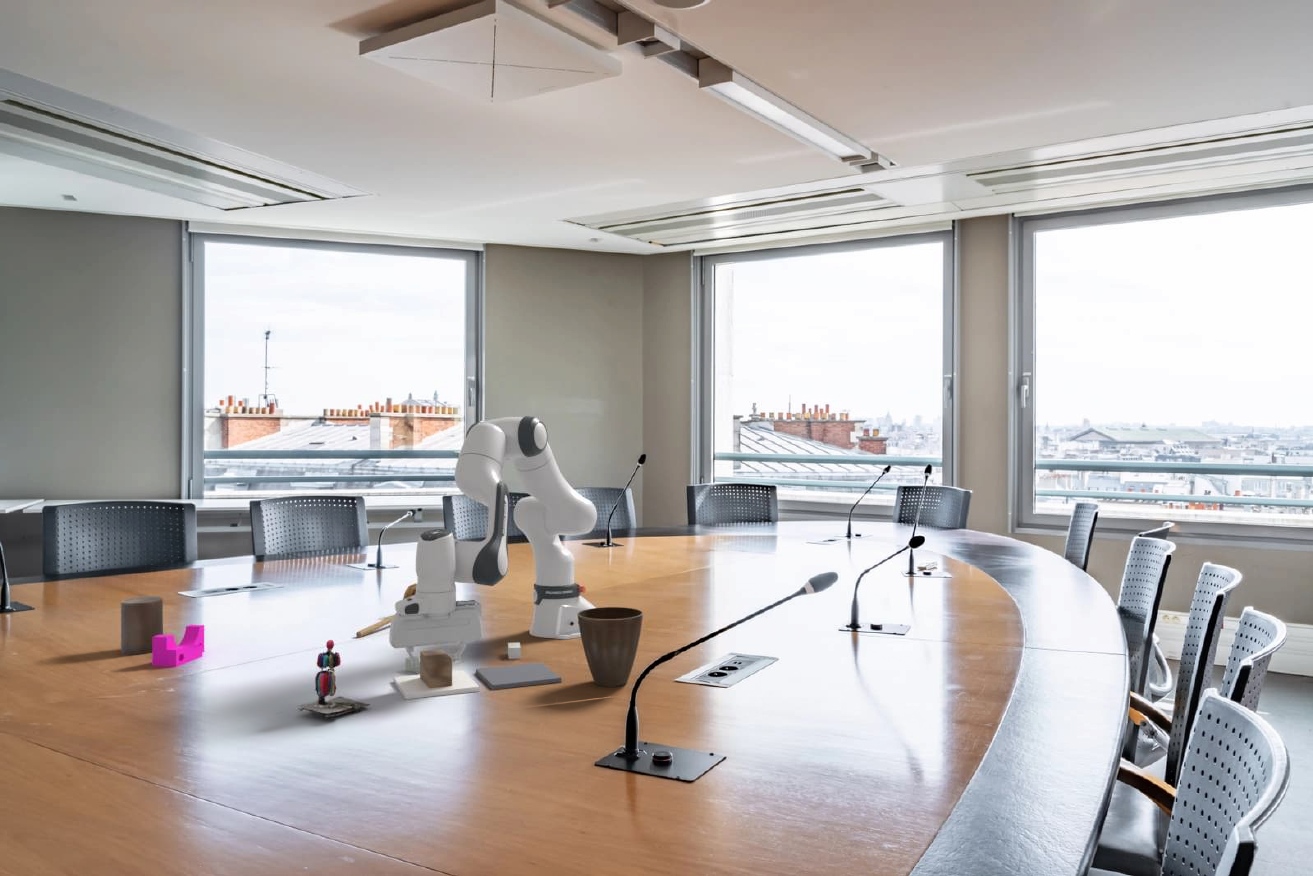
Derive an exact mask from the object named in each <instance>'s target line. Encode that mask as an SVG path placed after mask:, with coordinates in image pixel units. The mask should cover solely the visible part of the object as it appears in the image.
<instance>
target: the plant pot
mask: <svg viewBox="0 0 1313 876" xmlns="http://www.w3.org/2000/svg"><path fill="white" fill-rule="evenodd" d="M577 615H578V622H579V628H580V634H581V637H580V639H581V642H582V646H583V651H584V654H585V658H586V663H587V664H588V668H589V671H590V673H591V676H592V679H593V682H594V684H595V685H597V686H600V687H607V688H608V687H609V688H610V687H613V688H614V687H620V686H625V685H626V684H627V683H628V680H629V678H630V675H631V673H632V670H633V669H632V668H633V667H634V663H635V660H636V655H637V651H638V646H639V642H640V637H641V632H642V631H641V630H642V625H643V616H644V612H643V611H642V610H641V609H637V608H633V607H624V606H623V607H622V606H619V607H618V606H611V607H610V606H607V607H606V606H604V607H596V608H592V609H587V610H583V611H580V612H579V613H578V614H577Z"/></svg>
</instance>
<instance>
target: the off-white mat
mask: <svg viewBox="0 0 1313 876" xmlns="http://www.w3.org/2000/svg"><path fill="white" fill-rule="evenodd" d="M393 683H394V684H395V686H396V688H398V690H399V692H400V693H401V695H402V696H403V698H404V699H405V700H411V699H422V698H429V697H439V696H447V695H448V696H449V695H457V694H466V693H474V692H475V693H477V692H480V686H479V685H478V684H477V682H476V681H474V679H472V677H470V675H469V674H468V673H467V672H466V671H465V670H463V669H461V670H452V686H447V687H438V688H429V687H428V686H427V685H426V684H425V683H424V682H423V680H422V679H421V678H420V674H419V673H418V674H412V675H401V676H394V677H393Z"/></svg>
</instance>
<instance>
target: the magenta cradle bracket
mask: <svg viewBox="0 0 1313 876" xmlns="http://www.w3.org/2000/svg"><path fill="white" fill-rule="evenodd" d="M204 652H205V624H189V625H186V626H185V631H184V635H183V637H182V640H181V641H180V643H178V645H177V643H176V640H175V635H174V634H163V635H157V636H154V637H152V653H151V655H152V658H151V659H152V661H151V662H152V663H151V664H152V667H167V668H168V667H169V668H170V667H171V668H177V667H180V666H183V665H184V664H187V663H190V662H193V661H194V660H198V659H200V658H203V653H204Z"/></svg>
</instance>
